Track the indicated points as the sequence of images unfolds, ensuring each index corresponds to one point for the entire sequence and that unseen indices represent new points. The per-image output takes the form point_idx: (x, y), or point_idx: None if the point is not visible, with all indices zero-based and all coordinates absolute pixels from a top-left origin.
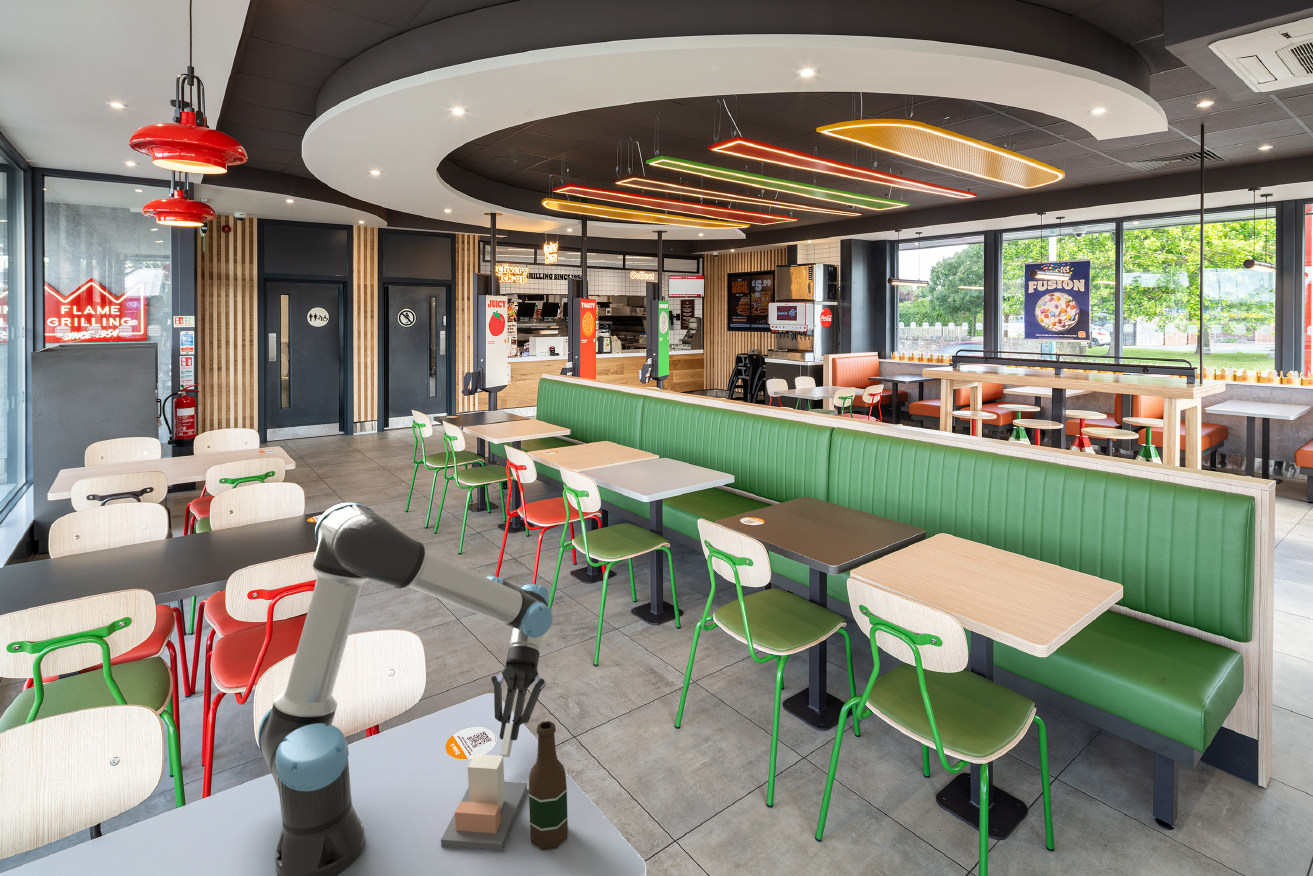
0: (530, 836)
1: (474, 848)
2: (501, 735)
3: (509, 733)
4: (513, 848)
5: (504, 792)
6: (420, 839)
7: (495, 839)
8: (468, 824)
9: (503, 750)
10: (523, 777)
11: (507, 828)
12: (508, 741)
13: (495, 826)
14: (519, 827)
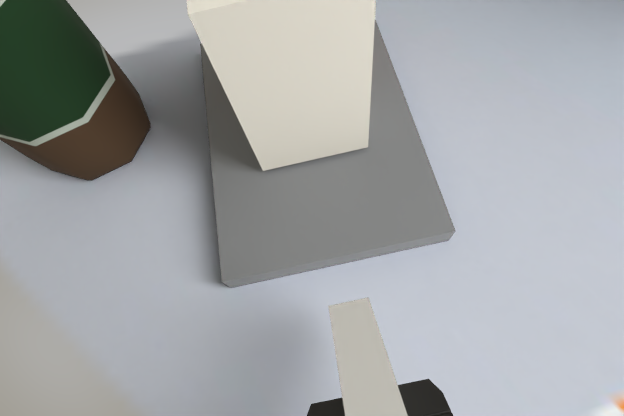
0: (128, 79)
1: None
2: (426, 398)
3: (355, 410)
4: (183, 75)
5: (254, 152)
6: (439, 20)
7: None
8: None
9: (356, 315)
10: (274, 351)
11: (206, 86)
12: (342, 360)
13: None
14: (193, 133)
